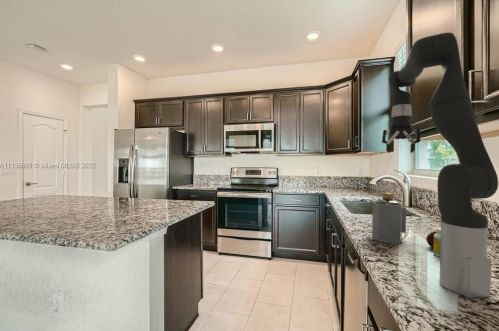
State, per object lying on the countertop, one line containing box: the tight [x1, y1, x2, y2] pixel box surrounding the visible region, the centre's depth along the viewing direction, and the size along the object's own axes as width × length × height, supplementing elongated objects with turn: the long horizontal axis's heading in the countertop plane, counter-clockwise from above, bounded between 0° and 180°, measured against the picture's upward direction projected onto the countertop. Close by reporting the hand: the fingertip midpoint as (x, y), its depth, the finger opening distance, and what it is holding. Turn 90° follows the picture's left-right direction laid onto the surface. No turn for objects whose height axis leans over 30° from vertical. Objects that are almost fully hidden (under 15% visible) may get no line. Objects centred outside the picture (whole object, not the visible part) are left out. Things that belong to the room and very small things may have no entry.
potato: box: [426, 230, 437, 249], centre depth 94 cm, size 7×8×7 cm
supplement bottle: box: [432, 227, 441, 258], centre depth 87 cm, size 5×5×10 cm
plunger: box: [381, 192, 394, 205], centre depth 104 cm, size 8×8×18 cm
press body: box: [371, 200, 407, 245], centre depth 104 cm, size 11×14×16 cm
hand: (399, 152), depth 106 cm, fingers open, 8 cm apart
